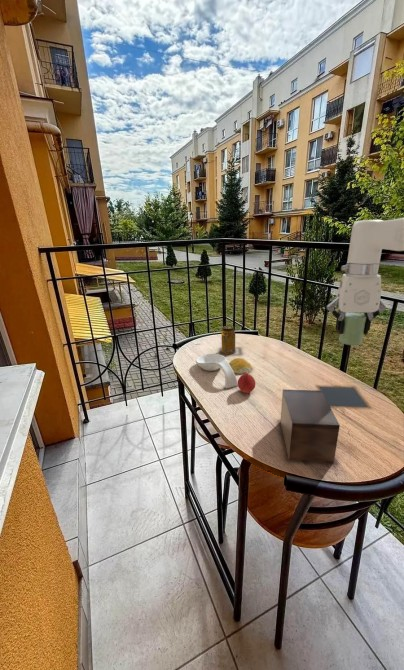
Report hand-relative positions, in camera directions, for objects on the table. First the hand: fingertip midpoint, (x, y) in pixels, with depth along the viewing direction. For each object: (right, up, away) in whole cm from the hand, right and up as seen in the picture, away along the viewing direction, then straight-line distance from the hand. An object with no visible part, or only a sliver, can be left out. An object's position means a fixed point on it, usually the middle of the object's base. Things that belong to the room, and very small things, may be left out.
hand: (351, 332), depth 81 cm
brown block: (-17, -28, -10) cm, 35 cm away
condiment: (-31, -9, +44) cm, 54 cm away
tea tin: (0, -3, +1) cm, 3 cm away
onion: (-29, -21, +12) cm, 37 cm away
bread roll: (-29, -15, +28) cm, 43 cm away
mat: (+1, -21, +8) cm, 22 cm away
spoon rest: (-38, -16, +26) cm, 48 cm away
